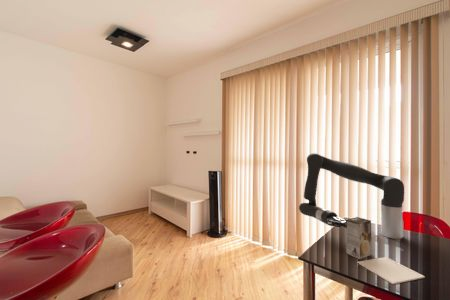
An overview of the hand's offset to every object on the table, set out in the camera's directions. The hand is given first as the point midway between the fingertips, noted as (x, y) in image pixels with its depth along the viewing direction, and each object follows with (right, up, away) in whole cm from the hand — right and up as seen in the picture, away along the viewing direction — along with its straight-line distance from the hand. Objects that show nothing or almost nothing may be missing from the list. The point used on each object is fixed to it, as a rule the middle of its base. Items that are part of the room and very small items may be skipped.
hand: (352, 227), depth 98 cm
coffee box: (+1, -11, -4) cm, 12 cm away
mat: (+5, -11, -16) cm, 20 cm away
